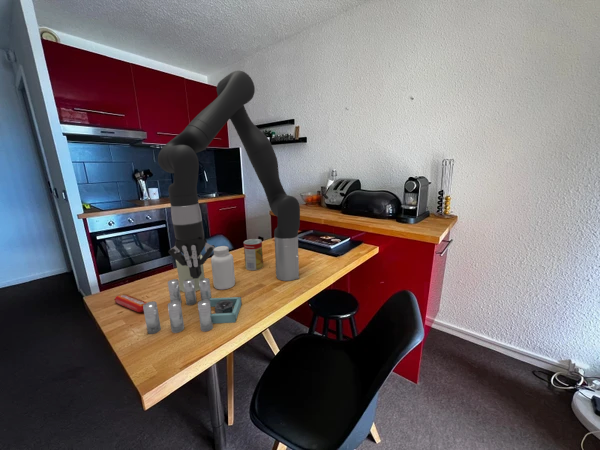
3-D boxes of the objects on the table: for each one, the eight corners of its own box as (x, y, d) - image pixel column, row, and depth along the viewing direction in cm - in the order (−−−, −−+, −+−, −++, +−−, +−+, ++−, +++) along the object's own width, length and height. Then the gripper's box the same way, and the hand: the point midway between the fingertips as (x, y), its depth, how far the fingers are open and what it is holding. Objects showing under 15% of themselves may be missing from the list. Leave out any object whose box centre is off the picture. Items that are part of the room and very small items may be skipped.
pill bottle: (215, 292, 90) (211, 253, 87) (212, 283, 97) (208, 246, 93) (237, 287, 94) (234, 249, 90) (232, 278, 100) (229, 243, 97)
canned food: (264, 263, 116) (263, 239, 113) (260, 270, 108) (259, 244, 105) (248, 263, 116) (246, 238, 114) (243, 270, 109) (241, 244, 106)
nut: (234, 307, 80) (233, 298, 80) (232, 317, 75) (231, 308, 74) (218, 308, 80) (217, 300, 79) (214, 319, 74) (213, 310, 73)
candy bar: (153, 310, 80) (151, 301, 79) (141, 316, 77) (140, 307, 76) (124, 298, 87) (123, 291, 86) (113, 303, 84) (111, 295, 83)
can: (184, 281, 99) (181, 253, 96) (208, 280, 100) (205, 252, 97) (175, 293, 90) (170, 262, 87) (201, 291, 91) (198, 260, 88)
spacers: (226, 298, 85) (224, 277, 83) (210, 331, 68) (207, 305, 67) (173, 301, 85) (170, 279, 83) (145, 334, 68) (140, 307, 66)
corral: (241, 303, 82) (241, 297, 81) (235, 322, 72) (234, 314, 72) (210, 305, 82) (210, 298, 81) (200, 323, 72) (199, 316, 71)
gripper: (215, 216, 73) (222, 270, 77) (169, 218, 73) (178, 273, 77) (207, 222, 66) (215, 281, 70) (156, 224, 65) (167, 285, 70)
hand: (196, 277), depth 73 cm, fingers closed
